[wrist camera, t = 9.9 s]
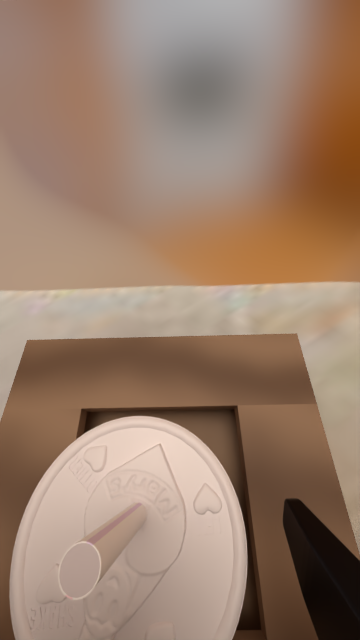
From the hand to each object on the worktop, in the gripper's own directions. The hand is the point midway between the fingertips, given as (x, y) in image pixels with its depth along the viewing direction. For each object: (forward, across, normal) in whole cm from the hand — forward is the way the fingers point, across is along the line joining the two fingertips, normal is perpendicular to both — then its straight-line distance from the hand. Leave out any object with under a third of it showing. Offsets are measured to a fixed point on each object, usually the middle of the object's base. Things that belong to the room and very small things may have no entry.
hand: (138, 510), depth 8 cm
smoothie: (+6, 0, +7) cm, 9 cm away
